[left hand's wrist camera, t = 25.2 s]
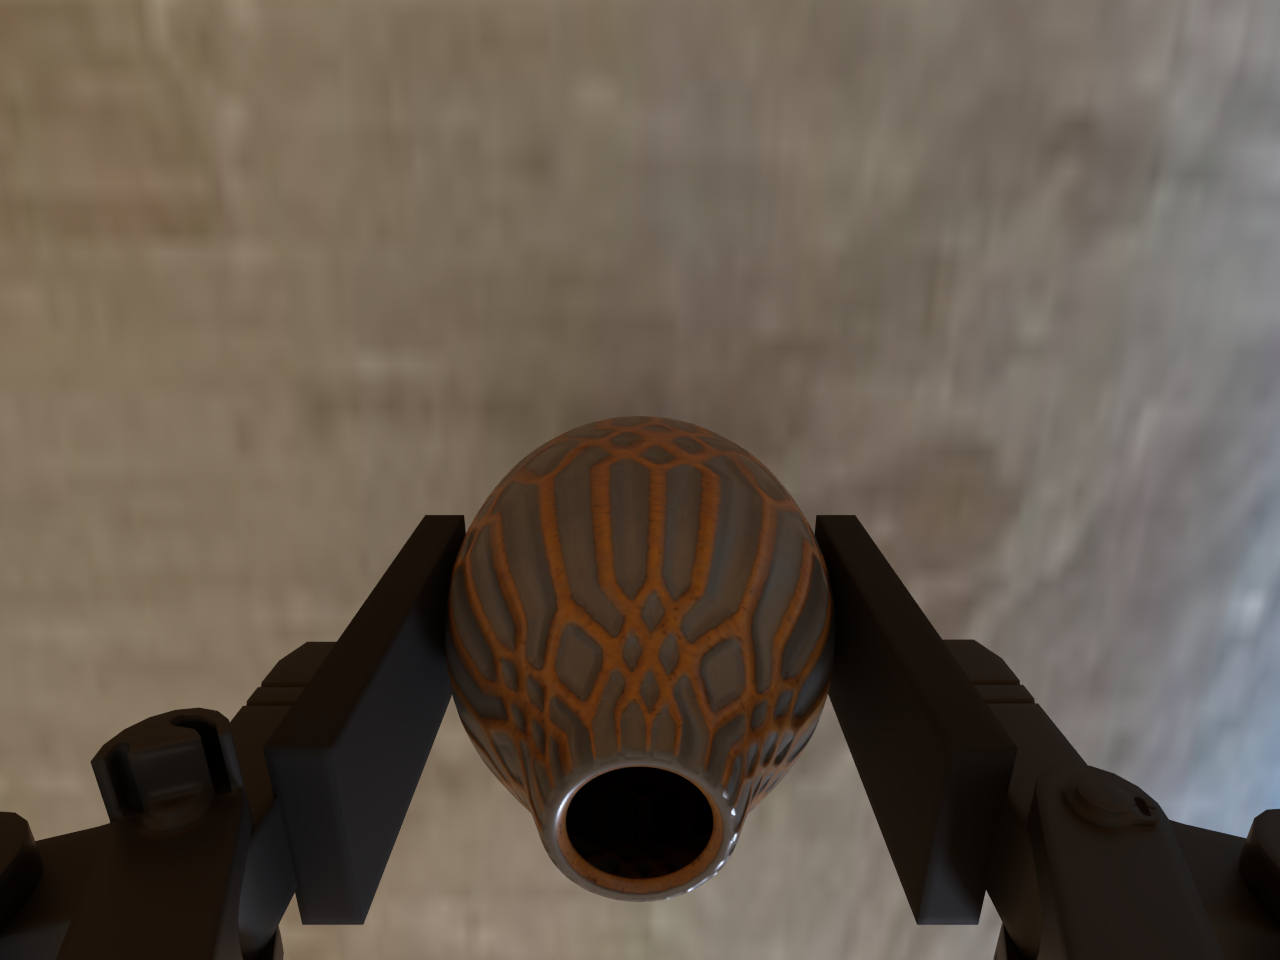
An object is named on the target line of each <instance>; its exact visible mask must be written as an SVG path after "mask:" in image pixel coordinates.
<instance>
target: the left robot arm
mask: <svg viewBox="0 0 1280 960" xmlns="http://www.w3.org/2000/svg"><path fill="white" fill-rule="evenodd" d="M465 535H466V532H465V521H464V515H425V516H424V518H423V519H422V521H421V522H420V524H419V525H418V526H417V528H416V529H415V531H414V532H413V534H412V535H411V537H410V538H409V539H408V541H407V542H406V544H405V545H404V547H403V548H402V549H401V551H400V552H399V554H398V555H397V557H396V558H395V559H394V561H393V562H392V564H391V565H390V567H389V568H388V569H387V571H386V572H385V574H384V575H383V577H382V578H381V579H380V581H379V582H378V584H377V585H376V587H375V588H374V589H373V591H372V592H371V594H370V595H369V597H368V598H367V599H366V601H365V602H364V604H363V605H362V607H361V608H360V609H359V611H358V612H357V614H356V615H355V617H354V618H353V619H352V621H351V622H350V624H349V625H348V627H347V628H346V629H345V631H344V632H343V634H342V635H341V637H340V638H339V640H338V641H337V642H306V643H305V644H303V645H302V646H300V647H299V648H297V649H296V650H294V651H293V652H291V653H290V654H288V655H287V656H285V657H284V658H283V659H281V660H280V661H279V662H278V663H277V664H276V665H275V667H274V668H273V669H272V670H271V672H270V673H269V674H268V675H267V677H266V678H265V679H264V680H263V682H262V685H261V687H258V688H257V689H256V690H255V692H254V693H253V694H252V695H251V697H250V698H249V699H248V700H247V705H246V706H243V707H242V708H241V709H240V710H239V712H238V713H237V714H236V715H235V717H234V718H233V719H232V720H231V722H230V723H229V719H227V718H226V717H225V716H223V715H222V714H221V713H220V712H218V711H215V710H209V709H204V708H191V709H180V710H174V711H170V712H167V713H163V714H160V715H156V716H153V717H149V718H147V719H145V720H143V721H141V722H139V723H137V724H135V725H133V726H131V727H129V728H127V729H124V730H123V731H122V732H120V733H119V734H118V735H116V736H115V737H114V738H112V739H111V740H110V741H108V742H107V743H105V744H104V745H103V746H102V748H101V749H100V750H99V751H98V753H97V754H96V755H95V757H94V758H93V759H92V760H91V765H92V768H93V771H94V774H95V777H96V780H97V783H98V786H99V789H100V792H101V795H102V798H103V801H104V804H105V807H106V810H107V813H108V816H109V819H110V823H109V824H106V825H102V826H99V827H95V828H91V829H86V830H82V831H78V832H73V833H69V834H65V835H60V836H56V837H52V838H47V839H43V840H39V841H35V840H34V837H33V834H32V832H31V829H30V827H29V824H28V821H27V820H25V819H24V818H22V817H21V816H19V815H18V814H16V813H12V812H0V960H283V954H284V952H283V946H282V939H281V934H280V930H279V926H278V925H279V923H280V921H281V919H282V917H283V915H284V913H285V911H286V909H287V907H288V905H289V903H290V901H291V899H292V897H293V895H294V893H295V894H296V898H297V902H298V907H299V911H300V916H301V920H302V925H363V924H364V921H365V919H366V916H367V914H368V911H369V908H370V906H371V903H372V901H373V898H374V895H375V893H376V890H377V888H378V885H379V882H380V880H381V877H382V875H383V872H384V869H385V867H386V864H387V862H388V859H389V857H390V854H391V851H392V849H393V846H394V844H395V841H396V838H397V836H398V833H399V831H400V828H401V825H402V823H403V820H404V818H405V815H406V813H407V810H408V807H409V805H410V802H411V800H412V797H413V794H414V792H415V789H416V787H417V784H418V781H419V779H420V776H421V774H422V771H423V769H424V766H425V763H426V761H427V758H428V756H429V753H430V750H431V748H432V745H433V743H434V740H435V737H436V735H437V732H438V730H439V727H440V724H441V722H442V719H443V717H444V714H445V712H446V709H447V706H448V704H449V701H450V699H451V696H452V691H451V687H450V681H449V676H448V669H447V663H446V650H445V609H446V601H447V593H448V589H449V584H450V579H451V574H452V570H453V566H454V563H455V560H456V557H457V554H458V552H459V550H460V547H461V545H462V542H463V540H464V538H465ZM815 538H816V540H817V542H818V545H819V547H820V550H821V552H822V555H823V557H824V560H825V563H826V567H827V570H828V574H829V579H830V584H831V589H832V594H833V601H834V610H835V651H834V661H833V670H832V675H831V681H830V686H829V690H828V695H829V697H830V700H831V702H832V705H833V708H834V710H835V713H836V715H837V718H838V721H839V723H840V726H841V728H842V731H843V734H844V736H845V739H846V741H847V744H848V747H849V749H850V752H851V754H852V757H853V759H854V762H855V765H856V767H857V770H858V772H859V775H860V778H861V780H862V783H863V785H864V788H865V791H866V793H867V796H868V798H869V801H870V803H871V806H872V809H873V811H874V814H875V816H876V819H877V822H878V824H879V827H880V829H881V832H882V835H883V837H884V840H885V842H886V845H887V847H888V850H889V853H890V855H891V858H892V860H893V863H894V866H895V868H896V871H897V873H898V876H899V879H900V881H901V884H902V886H903V889H904V891H905V894H906V897H907V899H908V902H909V904H910V907H911V910H912V912H913V915H914V917H915V920H916V923H917V925H978V923H979V918H980V914H981V909H982V905H983V900H984V896H985V892H986V890H987V892H988V894H989V896H990V898H991V900H992V902H993V904H994V906H995V908H996V910H997V912H998V914H999V916H1000V918H1001V920H1002V926H1001V930H1000V934H999V938H998V943H997V947H996V951H995V955H994V959H993V960H1280V809H1271V810H1266V811H1264V812H1263V813H1261V814H1260V815H1258V816H1257V817H1255V818H1254V821H1253V823H1252V826H1251V829H1250V831H1249V834H1248V836H1247V839H1246V838H1242V837H1238V836H1233V835H1229V834H1225V833H1220V832H1216V831H1212V830H1207V829H1203V828H1199V827H1194V826H1190V825H1186V824H1182V823H1178V822H1175V821H1172V820H1169V819H1168V818H1167V816H1166V815H1165V813H1164V812H1163V810H1162V809H1161V807H1160V806H1159V804H1158V803H1157V802H1156V801H1155V800H1153V799H1152V798H1151V797H1150V796H1149V795H1148V794H1146V793H1145V792H1144V791H1143V790H1142V789H1140V788H1139V787H1138V786H1136V785H1134V784H1132V783H1130V782H1129V781H1127V780H1125V779H1123V778H1121V777H1119V776H1118V775H1116V774H1114V773H1111V772H1107V771H1104V770H1101V769H1098V768H1095V767H1092V766H1088V765H1087V764H1086V763H1085V761H1084V760H1083V759H1082V758H1081V756H1080V755H1079V754H1078V753H1077V751H1076V750H1075V749H1074V748H1073V746H1072V745H1071V744H1070V743H1069V741H1068V740H1067V739H1066V738H1065V736H1064V735H1063V734H1062V733H1061V731H1060V730H1059V729H1058V728H1057V726H1056V725H1055V724H1054V723H1053V722H1052V720H1051V719H1050V718H1049V717H1048V715H1047V714H1046V713H1045V712H1044V710H1043V709H1042V708H1041V707H1040V705H1039V704H1035V702H1034V698H1033V697H1032V695H1031V694H1030V693H1029V692H1028V690H1027V689H1026V688H1025V687H1024V685H1020V680H1019V679H1018V678H1017V677H1016V675H1015V674H1014V673H1013V672H1012V670H1011V669H1010V668H1009V667H1008V665H1007V664H1006V663H1005V662H1004V660H1003V659H1002V658H1000V657H999V656H997V655H996V654H994V653H993V652H991V651H990V650H988V649H987V648H985V647H984V646H982V645H981V644H979V643H978V642H977V641H975V640H942V639H941V637H940V636H939V634H938V633H937V632H936V630H935V629H934V627H933V626H932V624H931V623H930V622H929V620H928V619H927V617H926V616H925V614H924V613H923V612H922V610H921V609H920V607H919V606H918V604H917V603H916V602H915V600H914V599H913V597H912V596H911V594H910V593H909V592H908V590H907V589H906V587H905V586H904V584H903V583H902V582H901V580H900V579H899V577H898V576H897V574H896V573H895V572H894V570H893V569H892V567H891V566H890V564H889V563H888V561H887V560H886V559H885V557H884V556H883V554H882V553H881V551H880V550H879V549H878V547H877V546H876V544H875V543H874V541H873V540H872V539H871V537H870V536H869V534H868V533H867V531H866V530H865V529H864V527H863V526H862V524H861V523H860V521H859V520H858V519H857V517H856V516H855V515H817V516H816V526H815Z"/></svg>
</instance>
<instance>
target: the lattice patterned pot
mask: <svg viewBox="0 0 1280 960" xmlns="http://www.w3.org/2000/svg"><path fill="white" fill-rule="evenodd" d="M445 650H446V663H447V669H448V676H449V681H450V687H451V691H452V695H453V699H454V702H455V705H456V708H457V711H458V713H459V716H460V719H461V722H462V724H463V726H464V729H465V731H466V733H467V735H468V737H469V738H470V740H471V742H472V744H473V745H474V747H475V749H476V751H477V752H478V754H479V755H480V757H481V758H482V760H483V761H484V763H485V764H486V765H487V767H488V768H489V769H490V770H491V772H492V773H493V774H494V775H495V776H496V778H497V779H498V780H499V781H500V782H501V783H502V784H503V785H504V786H505V788H506V789H507V790H508V791H509V792H510V793H511V794H512V795H513V796H514V797H515V798H516V799H517V800H518V801H519V802H520V803H521V804H522V805H523V806H524V807H525V808H526V809H527V810H528V811H529V812H531V813H532V816H533V818H534V821H535V824H536V827H537V830H538V832H539V835H540V838H541V841H542V843H543V845H544V848H545V850H546V852H547V853H548V855H549V857H550V859H551V860H552V862H553V863H554V864H555V865H556V867H557V868H558V869H559V870H560V871H561V872H562V873H563V874H564V875H565V876H566V877H567V878H569V879H570V880H571V881H573V882H574V883H576V884H577V885H579V886H580V887H582V888H584V889H586V890H588V891H590V892H593V893H595V894H598V895H601V896H603V897H607V898H611V899H616V900H622V901H631V902H648V901H658V900H664V899H668V898H672V897H676V896H679V895H682V894H684V893H687V892H689V891H691V890H693V889H695V888H697V887H699V886H701V885H702V884H704V883H705V882H707V881H708V880H709V879H711V878H712V877H713V876H714V875H715V874H716V873H717V872H718V871H719V870H720V869H721V868H722V867H723V866H724V864H725V863H726V862H727V860H728V859H729V857H730V856H731V854H732V852H733V850H734V848H735V846H736V843H737V841H738V839H739V836H740V833H741V830H742V827H743V825H744V822H745V819H746V816H747V814H748V813H749V812H750V811H751V810H752V809H754V808H755V807H756V806H757V805H758V804H759V803H760V802H761V801H762V800H763V799H764V798H765V797H766V796H767V795H768V794H769V793H770V792H771V791H772V790H773V788H774V787H775V786H776V785H777V784H778V783H779V782H780V781H781V780H782V779H783V777H784V776H785V775H786V774H787V773H788V772H789V770H790V769H791V768H792V766H793V765H794V764H795V763H796V761H797V760H798V758H799V757H800V755H801V754H802V752H803V750H804V749H805V747H806V745H807V744H808V742H809V740H810V738H811V736H812V735H813V733H814V731H815V728H816V726H817V724H818V722H819V719H820V716H821V713H822V710H823V707H824V704H825V701H826V698H827V694H828V690H829V686H830V681H831V675H832V670H833V661H834V651H835V610H834V601H833V594H832V589H831V584H830V579H829V574H828V570H827V567H826V563H825V560H824V557H823V555H822V552H821V550H820V547H819V545H818V542H817V540H816V538H815V535H814V533H813V531H812V529H811V527H810V525H809V523H808V522H807V520H806V518H805V517H804V515H803V513H802V512H801V510H800V509H799V507H798V505H797V504H796V502H795V501H794V499H793V498H792V496H791V495H790V494H789V493H788V491H787V490H786V489H785V487H784V486H783V485H782V484H781V483H780V481H779V480H778V479H777V478H776V477H775V476H774V475H773V474H772V473H771V472H770V470H769V469H768V468H766V467H765V466H764V465H763V464H762V463H761V462H760V461H759V460H758V459H756V458H755V457H754V456H753V455H751V454H750V453H749V452H747V451H746V450H744V449H743V448H741V447H740V446H738V445H737V444H735V443H733V442H731V441H730V440H728V439H726V438H724V437H722V436H720V435H718V434H716V433H714V432H712V431H709V430H707V429H705V428H702V427H699V426H696V425H694V424H690V423H686V422H683V421H678V420H673V419H668V418H660V417H645V416H635V417H620V418H612V419H607V420H602V421H597V422H594V423H590V424H587V425H584V426H581V427H578V428H575V429H573V430H571V431H568V432H566V433H564V434H562V435H560V436H558V437H556V438H554V439H552V440H551V441H549V442H547V443H545V444H543V445H542V446H540V447H539V448H537V449H536V450H534V451H533V452H531V453H530V454H529V455H527V456H526V457H525V458H524V459H522V460H521V461H520V462H519V463H518V464H517V465H516V466H515V467H514V468H512V469H511V471H510V472H509V473H508V474H507V475H506V476H505V477H504V478H503V479H502V480H501V482H500V483H499V484H498V485H497V486H496V487H495V489H494V490H493V491H492V493H491V494H490V495H489V496H488V498H487V499H486V501H485V502H484V504H483V505H482V507H481V509H480V510H479V512H478V513H477V515H476V517H475V518H474V520H473V522H472V523H471V525H470V527H469V529H468V531H467V533H466V535H465V538H464V540H463V542H462V545H461V547H460V550H459V552H458V554H457V557H456V560H455V563H454V566H453V570H452V574H451V579H450V584H449V589H448V593H447V601H446V609H445Z"/></svg>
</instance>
